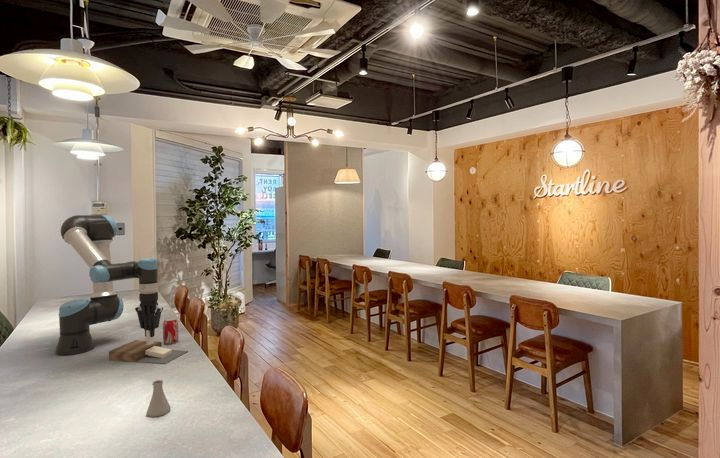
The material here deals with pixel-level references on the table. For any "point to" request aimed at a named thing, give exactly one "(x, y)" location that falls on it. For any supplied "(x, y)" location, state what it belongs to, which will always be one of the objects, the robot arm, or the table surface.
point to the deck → (131, 351)
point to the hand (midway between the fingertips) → (150, 343)
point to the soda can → (170, 330)
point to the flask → (158, 401)
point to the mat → (165, 360)
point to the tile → (158, 352)
